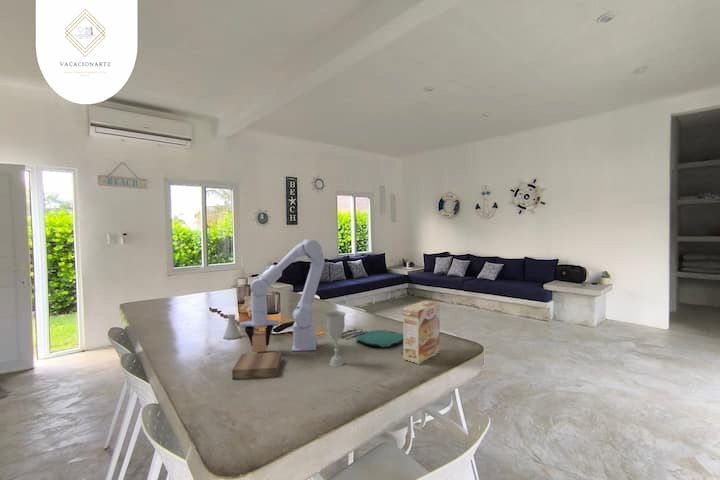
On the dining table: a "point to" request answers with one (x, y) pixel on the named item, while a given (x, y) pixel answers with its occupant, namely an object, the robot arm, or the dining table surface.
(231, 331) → the flask
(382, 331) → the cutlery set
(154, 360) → the dining table surface
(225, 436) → the dining table surface
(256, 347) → the terracotta block
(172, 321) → the dining table surface
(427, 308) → the coffeecake box
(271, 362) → the walnut base
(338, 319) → the chalice
